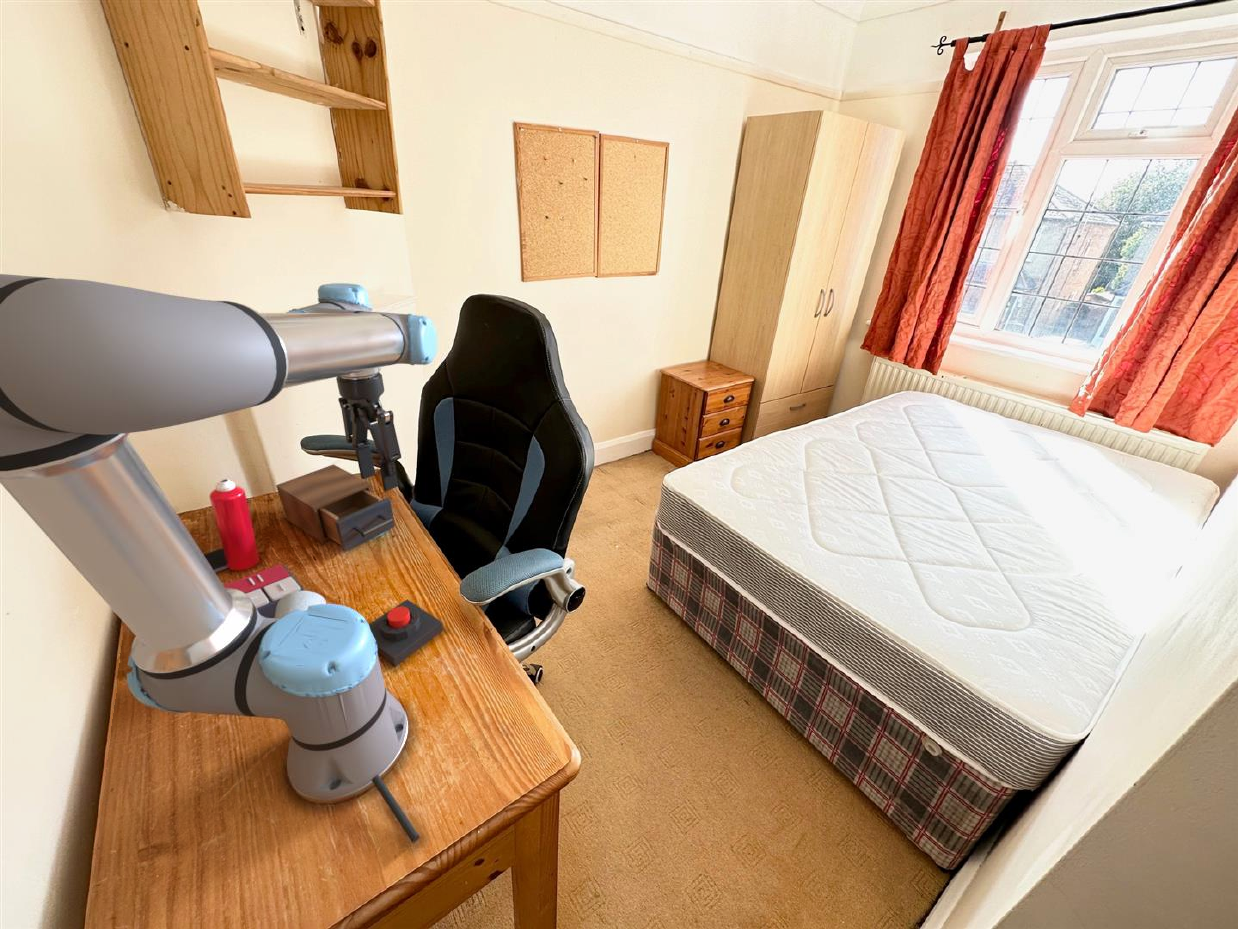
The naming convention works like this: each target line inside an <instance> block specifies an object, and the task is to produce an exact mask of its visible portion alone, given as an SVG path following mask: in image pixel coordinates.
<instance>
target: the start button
mask: <svg viewBox="0 0 1238 929" xmlns="http://www.w3.org/2000/svg"><path fill="white" fill-rule="evenodd" d="M395 607H396V606H395ZM395 607H393V608H394V609H393V608H391V609H392V610H391V609H390V610H391V611H390V610H389V611H390V612H389V613H388V615H387V618H388V623H389V626H390V627H392V628H401V627H404V626H406V625H407V624H408V623H409V622H410V613H409V610H408V608H406V607H396V608H395Z"/></svg>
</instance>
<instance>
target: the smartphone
mask: <svg viewBox="0 0 1238 929" xmlns="http://www.w3.org/2000/svg"><path fill="white" fill-rule="evenodd" d="M203 555H204V556H205V558H206V559H207V561H208V562H209V564H210V566H211V567H212V569H213V570H214V572H215V573H216V574H217V573H219V572H221V571H225V570H227V569H229V568H228V566H227V563H226V559H225V555H224V551H223V548H218V549H215V550H213V551H210V552H207V553H203Z"/></svg>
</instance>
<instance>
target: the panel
mask: <svg viewBox="0 0 1238 929" xmlns="http://www.w3.org/2000/svg"><path fill="white" fill-rule="evenodd" d="M396 607H406V608H408V610H409V613H410V622H409V623H408V624H407V625H406V626H404V627H401V628H392V627H390V626H389V623H388V618H387V615H388V613H389V612H390V611H391V610H392V609H394V608H396ZM368 625H369V627H370V630H371V632H372V634H373V636H374V638H375V640H376V644H377V654H378V656H381V657H382V658H383V659H385V660H386V661H387V663H390V664H391V665H392V666H393V667H395V668H397V666H399V665H400V664H402V663H403V662H404V661H406V660H407V659H408V658H409V657H412V655H413V654H415V653H416V652H417V651H419V650H420V649H421V648H422V647H423V646H425V645H426V644H428V643H429V642H430V641H431V640H433V639H434V638H435V637H436V636H438V635H439V634H440V633H442V632H443V631H444V626H443V622H442V621H441V620H440V619H438V618H436V617H435V616H433V615H432V614H430V613H429V612H428V611H425V610H424V609H423V608H421V607H420V606H418V605H417V604H415V603H414V602H413V601H411V600H409V598H406V599H405V600H403V601H402V602H401V603H399V604H398V605H396V606H394V607H393V608H391V609H390V610H388V611H387V612H385V613H383V614H382V615H381V616H379V617H378V618H376V619H375V620H374V621H372V622H370V623H368Z"/></svg>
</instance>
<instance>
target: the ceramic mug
mask: <svg viewBox="0 0 1238 929" xmlns="http://www.w3.org/2000/svg"><path fill="white" fill-rule="evenodd" d="M317 604H327V601H326V599H325V598H324V596H323V595H321V594H319V593H318V592H315V591H310V590H304V591H296V592H292V593H290V594H287V595H285V596H284V597H283V598H281V599H280V601H279V602H278V604H277V607H276V613H275V616H274V618H276V619H280V618H282V617H283V616H285V615H287V614H289V613H291V612H293V611H295V610H298V609H300V610H302V611H306V610H307V609H308V607H309V606H312V605H317Z"/></svg>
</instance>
